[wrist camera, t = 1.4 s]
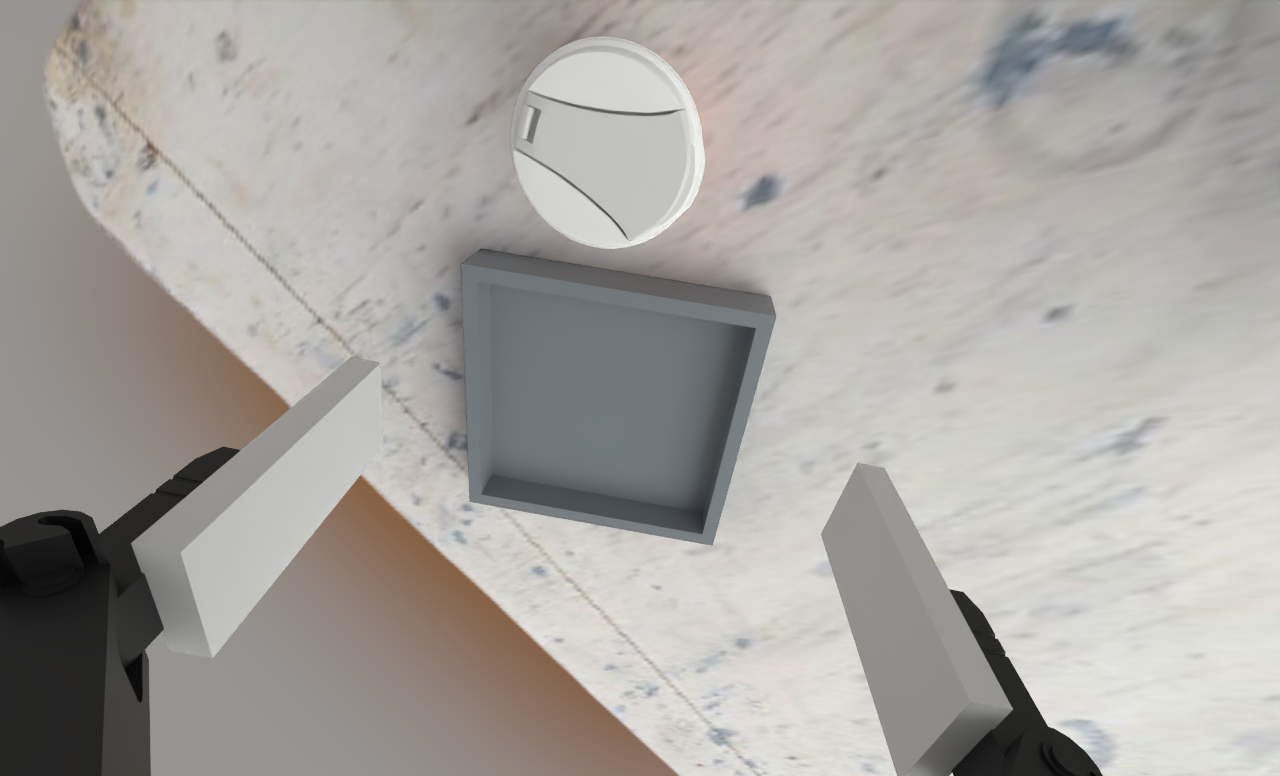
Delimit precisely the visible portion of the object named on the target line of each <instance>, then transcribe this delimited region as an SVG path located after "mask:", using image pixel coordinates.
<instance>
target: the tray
mask: <svg viewBox="0 0 1280 776" xmlns="http://www.w3.org/2000/svg"><path fill="white" fill-rule="evenodd" d="M461 279H462V306H463V334H464V361H465V389H466V416H467V444H468V472H469V499H470V502H474V503H480V504H485V505H491V506H496V507H502V508H507V509H513V510H518V511H524V512H530V513H535V514H541V515H546V516H552V517H557V518H563V519H568V520H574V521H579V522H585V523H590V524H596V525H601V526H607V527H612V528H618V529H624V530H629V531H635V532H640V533H646V534H651V535H657V536H662V537H668V538H673V539H679V540H684V541H690V542H695V543H701V544H707V545H713V542H714V538H715V535H716V531H717V527H718V524H719V520H720V517H721V513H722V509H723V506H724V502H725V499H726V495H727V491H728V488H729V484H730V481H731V477H732V473H733V470H734V466H735V463H736V459H737V455H738V452H739V448H740V445H741V441H742V437H743V434H744V430H745V427H746V423H747V419H748V416H749V412H750V409H751V405H752V401H753V398H754V394H755V391H756V387H757V383H758V380H759V376H760V373H761V369H762V366H763V362H764V358H765V355H766V351H767V348H768V344H769V340H770V337H771V333H772V330H773V326H774V322H775V319H776V314H775V310H774V306H773V303H772V299H771V297H770V296H764V295H758V294H752V293H746V292H740V291H734V290H728V289H722V288H716V287H710V286H704V285H698V284H692V283H686V282H680V281H673V280H667V279H661V278H655V277H649V276H643V275H637V274H631V273H625V272H619V271H613V270H607V269H601V268H595V267H589V266H583V265H577V264H570V263H564V262H558V261H552V260H546V259H540V258H534V257H528V256H522V255H516V254H510V253H504V252H498V251H492V250H486V249H480V250H479V251H478V252H476V253H475V254H474V255H472V256H471V257H469V258H468V259H467V260H465V261H464V262H463V263H461Z"/></svg>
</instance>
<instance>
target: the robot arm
mask: <svg viewBox="0 0 1280 776" xmlns="http://www.w3.org/2000/svg"><path fill="white" fill-rule="evenodd" d="M383 446H384V444H383V415H382V387H381V363H378V362H373V361H368V360H364V359H359V358H354V357H351V358H350V359H349V360H347V361H346V362H345V363H344V364H343V365H341V366H340V367H339V368H338V369H337V370H336V371H334V372H333V373H332V374H331V375H330V376H328V377H327V378H326V379H325V380H324V381H322V382H321V383H320V384H319V385H318V386H317V387H315V388H314V389H313V390H312V391H311V392H309V393H308V394H307V395H306V396H305V397H304V398H302V399H301V400H300V401H299V402H298V403H296V404H295V405H294V406H293V407H292V408H291V409H289V410H288V411H287V412H286V413H285V414H283V415H282V416H281V417H280V418H279V419H278V420H276V421H275V422H274V423H273V424H272V425H270V426H269V427H268V428H267V429H266V430H264V431H263V432H262V433H261V434H260V435H259V436H257V437H256V438H255V439H254V440H253V441H252V442H250V443H249V444H248V445H247V446H246V447H244V448H243V449H242V450H238V449H232V448H227V447H221V448H219V449H217V450H215V451H212V452H210V453H208V454H205V455H203V456H201V457H199V458H196V459H194V460H193V461H192V462H191V463H189V464H188V465H187V466H186V467H184V468H183V469H182V470H181V471H179V472H178V473H177V474H175V475H174V477H173V479H172V480H171V479H169V480H168V481H166V482H165V483H164V484H163V485H161V486H160V487H159V488H157V489H156V492H155V493H154V494H152V493H151V494H150V495H149V496H147V497H146V498H145V499H143V500H142V501H141V502H140V503H138V504H137V505H136V506H135V507H133V508H132V509H131V510H129V511H128V512H127V513H125V514H124V515H123V516H122V517H120V518H119V519H118V520H117V521H115V522H114V523H113V524H112V525H110V526H109V527H108V528H106V529H105V530H104V531H102V532H101V533H100V534H99V533H98V531H97V528H96V526H95V523H94V521H93V518H92V517H90V516H88V515H86V514H84V513H82V512H79V511H69V510H57V511H48V512H40V513H37V514H33V515H30V516H26V517H23V518H19V519H16V520H14V521H12V522H10V523H8V524H6V525H4V526H2V527H0V776H151V769H150V768H151V767H150V712H149V660H148V657H147V654H146V651H145V649H146V648H147V646H148V645H149V644H150V643H151V642H152V641H153V640H154V639H155V638H156V637H157V636H158V635H159V634H160V633H161V632H162V631H163V633H164V636H165V639H166V641H167V644H168V647H169V650H170V651H176V652H181V653H187V654H192V655H198V656H203V657H209V658H213V657H214V656H215V655H216V653H217V652H218V651H219V650H220V648H221V647H222V645H224V643H225V642H226V641H227V640H228V638H229V637H230V636H231V635H232V633H233V632H234V631H235V630H236V629H237V627H238V626H239V625H240V624H241V622H242V621H243V620H244V619H245V617H246V616H247V615H248V614H249V612H250V611H251V610H252V609H253V607H254V606H255V605H256V604H257V602H258V601H259V600H260V599H261V598H262V596H263V595H264V594H265V592H266V591H267V590H268V589H269V587H270V586H271V585H272V584H273V583H274V581H275V580H276V579H277V578H278V576H279V575H280V574H281V573H282V572H283V570H284V569H285V568H286V567H287V565H288V564H289V563H290V562H291V560H292V559H293V558H294V557H295V555H296V554H297V553H298V552H299V550H300V549H301V548H302V547H303V545H304V544H305V543H306V542H307V541H308V539H309V538H310V537H311V536H312V534H313V533H314V532H315V531H316V529H317V528H318V527H319V526H320V524H321V523H322V522H323V521H324V519H325V518H326V517H327V516H328V514H329V513H330V512H331V511H332V509H333V508H334V507H335V506H336V504H337V503H338V502H339V501H340V500H341V498H342V497H343V496H344V494H345V493H346V492H347V491H348V490H349V488H350V487H351V486H352V485H353V483H354V482H355V481H356V480H357V479H358V477H359V476H360V475H361V474H362V472H363V471H364V470H365V469H366V467H367V466H368V465H369V464H370V462H371V461H372V460H373V459H374V457H375V456H376V455H377V454H378V452H379V451H380V450H381V449H382V448H383ZM821 536H822V539H823V542H824V545H825V548H826V552H827V555H828V558H829V561H830V564H831V567H832V571H833V574H834V577H835V580H836V583H837V586H838V590H839V593H840V596H841V599H842V602H843V605H844V609H845V612H846V615H847V618H848V621H849V624H850V628H851V631H852V634H853V637H854V640H855V643H856V647H857V650H858V653H859V656H860V659H861V662H862V666H863V669H864V672H865V675H866V678H867V681H868V685H869V688H870V691H871V694H872V697H873V700H874V704H875V707H876V710H877V713H878V716H879V719H880V723H881V726H882V729H883V732H884V735H885V738H886V742H887V745H888V748H889V751H890V754H891V757H892V761H893V764H894V767H895V770H896V773H897V776H949V775H950V774H951V773H953V775H954V776H1102V774H1101V772H1100V770H1099V768H1098V767H1097V765H1096V764H1095V763H1094V762H1093V760H1092V759H1091V758H1090V757H1089V756H1088V754H1087V753H1086V752H1085V751H1084V750H1083V749H1082V748H1081V747H1079V746H1078V745H1077V744H1076V743H1075V742H1074V741H1073V740H1071V739H1070V738H1069V737H1067V736H1066V735H1064V734H1062V733H1060V732H1059V731H1057V730H1055V729H1054V728H1050V727H1048V726H1047V724H1046V722H1045V721H1044V719H1043V717H1042V715H1041V714H1040V712H1039V710H1038V708H1037V707H1036V705H1035V703H1034V701H1033V700H1032V698H1031V696H1030V694H1029V693H1028V691H1027V689H1026V688H1025V686H1024V684H1023V682H1022V681H1021V679H1020V677H1019V675H1018V674H1017V672H1016V670H1015V668H1014V667H1013V665H1012V663H1011V661H1010V660H1009V658H1008V657H1006V656H1005V651H1004V649H1003V647H1002V646H1001V644H1000V642H999V640H998V639H995V633H994V632H993V630H992V628H991V626H990V625H989V623H988V621H987V619H986V618H985V616H984V614H983V613H982V612H981V611H980V609H979V608H978V607H977V606H976V605H975V604H974V603H973V602H972V601H971V600H970V599H969V598H968V597H967V596H966V595H965V593H964V592H960V591H955V590H950V589H949V588H948V587H947V585H946V583H945V581H944V579H943V577H942V575H941V573H940V572H939V570H938V568H937V566H936V564H935V562H934V560H933V558H932V557H931V555H930V553H929V551H928V549H927V547H926V545H925V543H924V542H923V540H922V538H921V536H920V534H919V532H918V530H917V528H916V527H915V525H914V523H913V521H912V519H911V517H910V515H909V513H908V512H907V510H906V508H905V506H904V504H903V502H902V500H901V498H900V497H899V495H898V493H897V491H896V489H895V487H894V485H893V483H892V482H891V480H890V478H889V476H888V474H887V472H886V470H885V468H881V467H876V466H872V465H867V464H862V463H857V465H856V467H855V469H854V471H853V473H852V475H851V477H850V479H849V481H848V483H847V485H846V486H845V488H844V490H843V492H842V494H841V496H840V498H839V500H838V502H837V504H836V506H835V508H834V510H833V512H832V514H831V516H830V518H829V520H828V522H827V524H826V526H825V527H824V529H823V531H822V533H821Z"/></svg>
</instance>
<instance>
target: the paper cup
mask: <svg viewBox="0 0 1280 776" xmlns="http://www.w3.org/2000/svg"><path fill="white" fill-rule="evenodd" d="M510 145H511V153H512V161H513V164H514V168H515V172H516V176H517V178H518V181H519V183H520V185H521V188H522V190H523V192H524V194H525V195H526V197H527V199H528V201H529V202H530V204H531V205H532V207H533V208H534V209H535V210H536V212H537V213H538V214H539V215H540V216H541V217H542V218H543V219H544V220H545V221H546V222H547V223H548V224H549V225H550V226H551V227H552V228H554V229H555V230H557V231H558V232H559V233H561V234H562V235H564V236H566V237H568V238H570V239H572V240H574V241H576V242H578V243H581V244H584V245H587V246H592V247H597V248H609V249H617V248H624V247H631V246H634V245H637V244H640V243H643V242H645V241H647V240H649V239H651V238H653V237H655V236H657V235H658V234H660V233H661V232H662V231H664V230H665V229H667V228H668V227H669V226H670V225H671V224H672V223H673V222H674V221H675V220H676V219H677V218H678V217H679V216H680V215H681V214H683V213H684V212H685V211H686V210H687V209H688V208H689V207H690V206H691V204H692V202H693V200H694V198H695V197H696V195H697V193H698V190H699V187H700V184H701V181H702V178H703V174H704V168H705V163H706V159H705V152H704V145H703V136H702V127H701V122H700V119H699V115H698V111H697V108H696V105H695V103H694V101H693V98H692V96H691V94H690V92H689V90H688V89H687V87H686V85H685V84H684V82H683V80H682V79H681V77H680V76H679V75H678V74H677V73H676V72H675V71H674V69H673V68H672V67H671V66H670V65H669V64H668V63H667V62H666V61H664V60H663V59H662V58H661V57H660V56H658V55H657V54H656V53H654V52H653V51H651V50H649V49H647V48H646V47H644V46H642V45H640V44H637V43H634V42H632V41H629V40H626V39H621V38H615V37H609V36H608V37H589V38H585V39H580V40H576V41H574V42H571V43H569V44H567V45H564V46H562V47H560V48H559V49H557V50H556V51H554V52H553V53H551V54H550V55H548V56H547V57H546V58H545V59H544V60H543V61H542V62H541V63H540V64H539V65H538V66H537V67H536V68H535V69H534V70H533V72H532V73H531V74H530V76H529V77H528V79H527V80H526V82H525V84H524V86H523V88H522V90H521V91H520V93H519V96H518V99H517V102H516V105H515V108H514V111H513V117H512V123H511V139H510Z"/></svg>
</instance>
